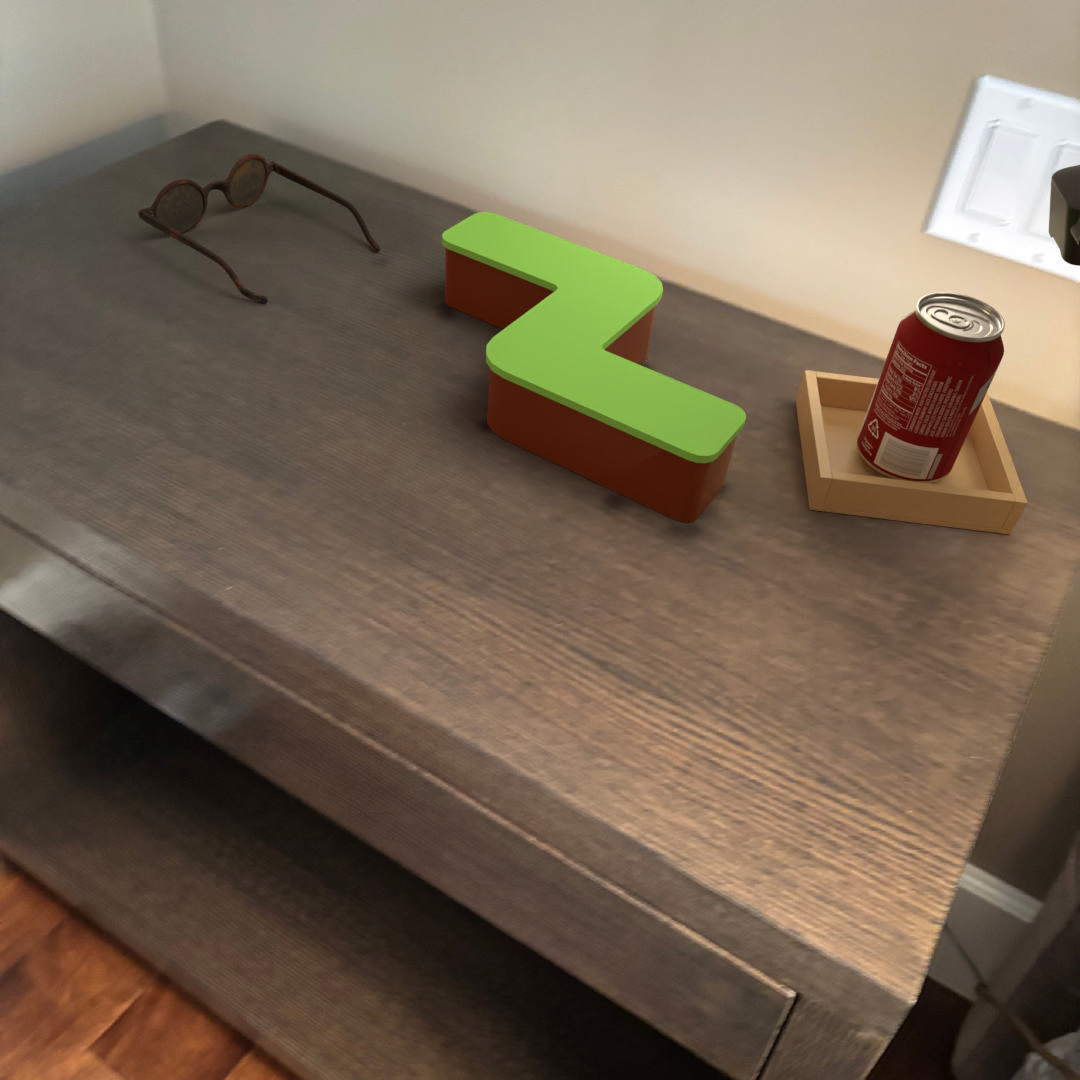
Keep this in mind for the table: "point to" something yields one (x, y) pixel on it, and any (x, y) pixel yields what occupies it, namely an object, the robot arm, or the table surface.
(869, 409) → the soda can
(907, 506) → the tray
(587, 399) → the planter
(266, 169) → the eyeglasses
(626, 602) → the table surface
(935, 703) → the table surface
